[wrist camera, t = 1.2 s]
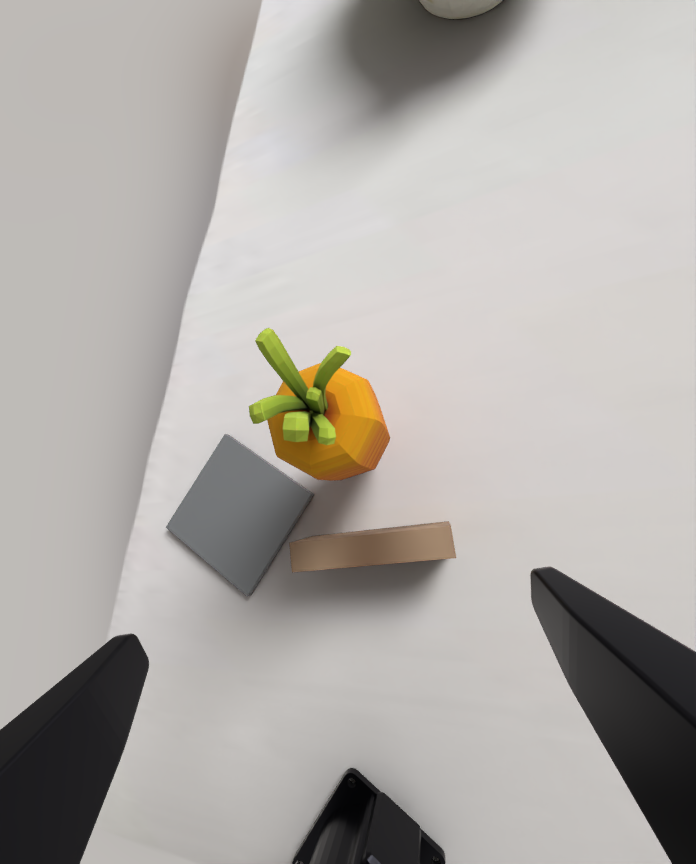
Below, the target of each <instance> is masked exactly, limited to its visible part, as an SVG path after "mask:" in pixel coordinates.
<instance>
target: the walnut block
mask: <svg viewBox="0 0 696 864" xmlns="http://www.w3.org/2000/svg"><path fill="white" fill-rule="evenodd" d="M289 544H290V556H291V568H292V572H302V571H314V570H325V569H336V568H348V567H359V566H370V565H382V564H393V563H404V562H416V561H427V560H438V559H450V558H456V554H455V548H454V542H453V536H452V530H451V525H450V523H449V521H448V522H439V523H430V524H420V525H411V526H402V527H393V528H383V529H374V530H365V531H356V532H346V533H337V534H328V535H319V536H311V537H308V538H304V539H301V540H298V541H294V542H291V543H289Z"/></svg>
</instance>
